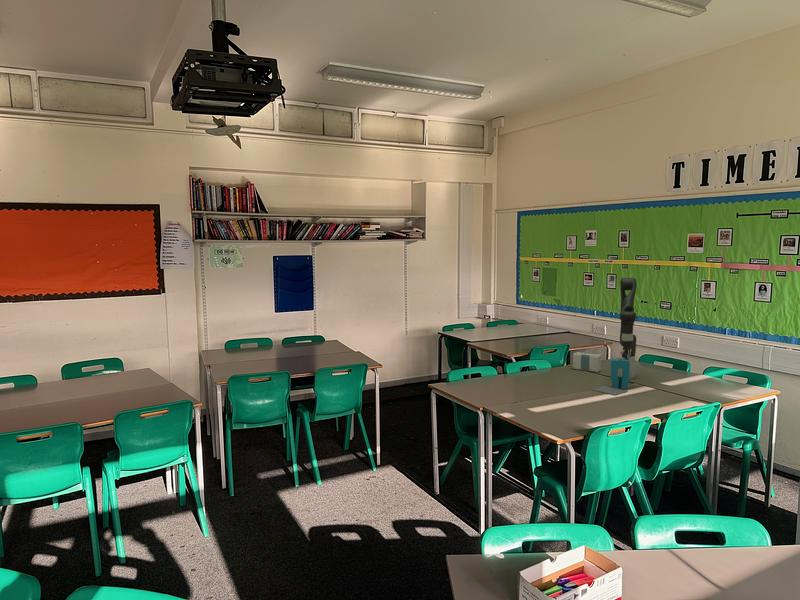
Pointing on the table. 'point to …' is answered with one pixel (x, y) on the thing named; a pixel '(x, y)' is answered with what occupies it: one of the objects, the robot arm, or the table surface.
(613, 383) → the block
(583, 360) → the stereo radio cassette player
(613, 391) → the mat
